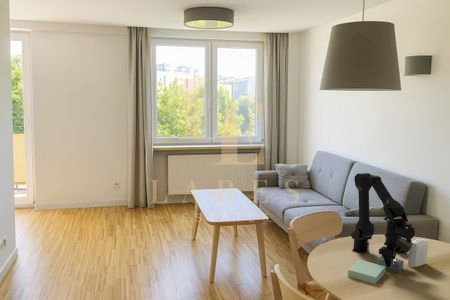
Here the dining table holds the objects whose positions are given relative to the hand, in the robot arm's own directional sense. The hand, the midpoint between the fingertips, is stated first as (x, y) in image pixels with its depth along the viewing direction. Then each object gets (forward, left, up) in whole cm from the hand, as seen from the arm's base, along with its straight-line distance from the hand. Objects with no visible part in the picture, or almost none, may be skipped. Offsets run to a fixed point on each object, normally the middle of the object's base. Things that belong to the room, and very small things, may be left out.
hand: (390, 264), depth 201 cm
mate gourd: (-2, +23, -2) cm, 23 cm away
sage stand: (-6, -14, -2) cm, 15 cm away
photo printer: (+9, +12, -2) cm, 15 cm away
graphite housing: (0, 0, -2) cm, 2 cm away
